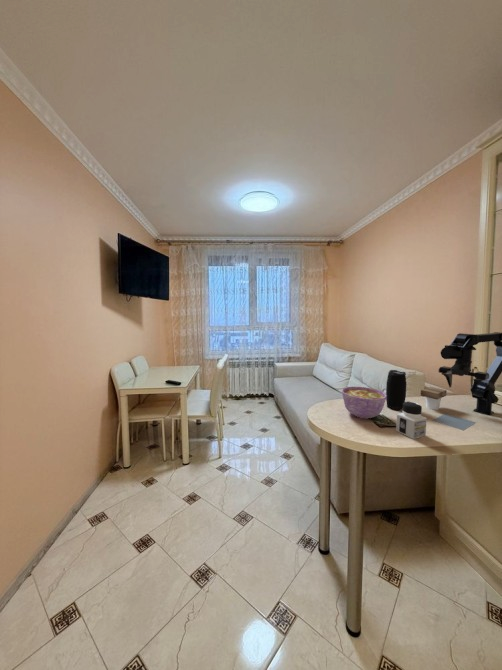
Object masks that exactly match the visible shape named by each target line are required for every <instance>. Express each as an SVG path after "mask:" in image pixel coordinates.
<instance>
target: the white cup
mask: <svg viewBox="0 0 502 670" xmlns="http://www.w3.org/2000/svg"><path fill="white" fill-rule="evenodd" d="M441 401H442V398H440V399H433V398H429V397H425V408H427V409H429V410H433V411H434V410H435V411H439V410H440V407H441Z"/></svg>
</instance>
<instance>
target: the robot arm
mask: <svg viewBox="0 0 502 670" xmlns="http://www.w3.org/2000/svg"><path fill="white" fill-rule="evenodd" d="M489 342H493V345H494V346H495V347H496V348H495V353H496V356H495V358H494V359H493V361H492V362H491V364H490V365H489V367H488V369H487V371H486V372H484V371H476V372H472V363H473V361H472V359H473V358H472V357H473V351H476V350H477V348H476V347H474V346H477V345H479V344H481V343H489ZM440 356H441V358H443V360H455V362H454V364H453V365H452V366H446V365H443V366H440V367H439V368H438V373H441V375H443V376H444V377H445V379H446V381H447V384H448V387H449V388H452V386H453V376H459V377H463V376H468V377H469V376H470V377H474V378H472V379H473V383H472V384H471V385H470V392H471V397H472V398H474V399H476V404H475V405H476V407H475V408H474V409H473V412H476V413H481V414H485V415H487V416H489V415H492V414H494V413H495V411H492V409H493V408H492V407H493V404H497V403H498V401H499V398H498V396H497V395H496V394H495V392H496V386H495V384H496V382H497V381H498V379H499V377H500V376H501V374H502V332H498V331H497V332H496V331H494V332H489V333H479V334H478V333H477V334H473V333H461V332H459V333H458V334H456V336H455V337H454V338H453V340H452V341H451V342H450V344H449V345H448V344H445V345H444V347H443V348H442V349H441V350H440Z"/></svg>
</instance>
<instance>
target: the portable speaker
mask: <svg viewBox="0 0 502 670" xmlns="http://www.w3.org/2000/svg"><path fill="white" fill-rule="evenodd" d="M406 375H407V372H406V371H399V370H397V369H390V370H389V371H388V373H387V378H386V379H387V380H386V390H385V391H386V392H385V394H386V395H387V397H386V400H385V402H386V407H387V408H392V409H393V410H394V411H403V403H404V402H406V398H407V396H406V395H407V378H406V377H407V376H406Z"/></svg>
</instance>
